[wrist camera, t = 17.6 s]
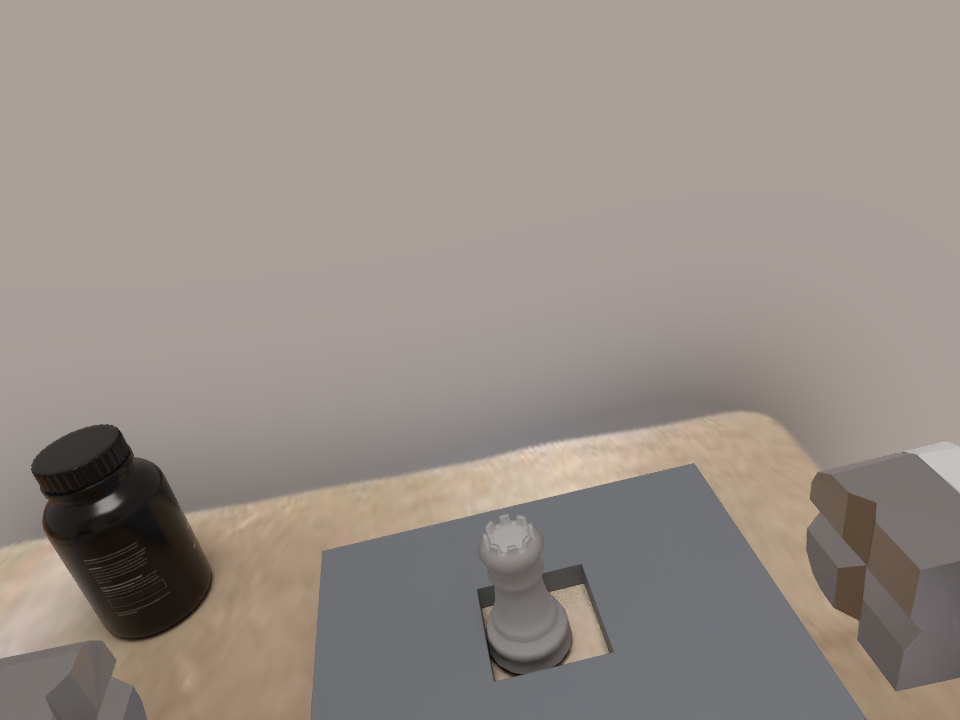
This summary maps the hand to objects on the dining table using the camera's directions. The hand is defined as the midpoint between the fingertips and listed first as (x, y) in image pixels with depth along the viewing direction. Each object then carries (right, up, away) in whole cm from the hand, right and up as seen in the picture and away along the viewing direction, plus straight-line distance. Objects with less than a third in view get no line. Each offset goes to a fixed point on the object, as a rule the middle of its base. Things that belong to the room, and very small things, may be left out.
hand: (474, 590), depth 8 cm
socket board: (+3, -12, +30) cm, 33 cm away
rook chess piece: (+3, -13, +30) cm, 33 cm away
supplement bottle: (-20, -13, +38) cm, 45 cm away
